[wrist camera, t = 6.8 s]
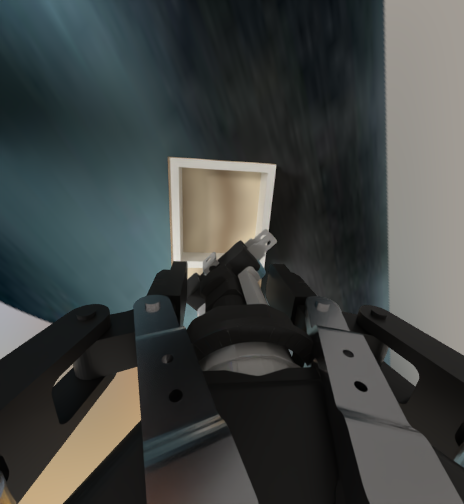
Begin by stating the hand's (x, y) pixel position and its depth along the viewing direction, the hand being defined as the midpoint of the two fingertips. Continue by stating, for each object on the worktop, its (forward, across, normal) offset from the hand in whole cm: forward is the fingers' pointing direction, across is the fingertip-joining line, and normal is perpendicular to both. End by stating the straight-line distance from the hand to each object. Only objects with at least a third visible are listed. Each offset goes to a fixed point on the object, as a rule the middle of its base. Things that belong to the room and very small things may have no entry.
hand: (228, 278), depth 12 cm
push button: (+3, 0, 0) cm, 3 cm away
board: (+17, -1, +2) cm, 17 cm away
